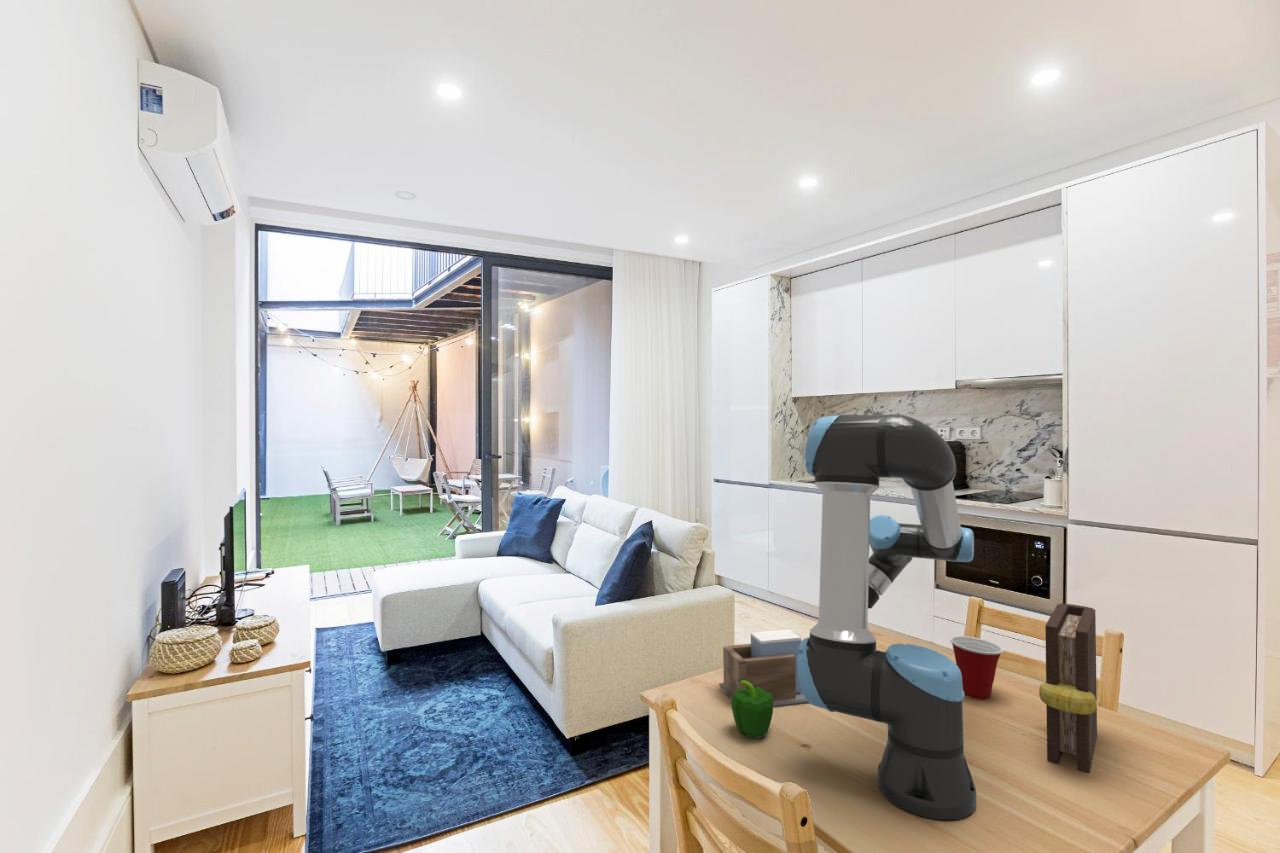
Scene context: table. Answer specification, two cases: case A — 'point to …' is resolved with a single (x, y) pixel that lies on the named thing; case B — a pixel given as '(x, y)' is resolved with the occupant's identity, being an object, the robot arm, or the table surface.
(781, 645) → the white box
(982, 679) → the plastic cup
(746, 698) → the bell pepper
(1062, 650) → the book
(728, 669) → the housing
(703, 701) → the table surface
